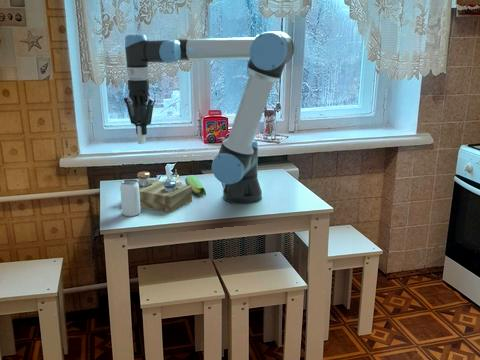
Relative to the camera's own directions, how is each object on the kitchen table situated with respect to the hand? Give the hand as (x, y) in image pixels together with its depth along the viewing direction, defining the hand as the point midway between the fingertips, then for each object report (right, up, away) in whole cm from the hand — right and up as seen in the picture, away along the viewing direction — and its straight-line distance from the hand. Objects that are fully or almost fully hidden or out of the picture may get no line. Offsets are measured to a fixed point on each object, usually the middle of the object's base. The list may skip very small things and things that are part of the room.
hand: (142, 143), depth 190 cm
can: (-2, -26, -8) cm, 27 cm away
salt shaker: (+11, -23, +1) cm, 25 cm away
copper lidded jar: (0, -19, +6) cm, 20 cm away
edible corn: (+18, -19, +17) cm, 31 cm away
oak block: (+5, -22, +4) cm, 23 cm away
